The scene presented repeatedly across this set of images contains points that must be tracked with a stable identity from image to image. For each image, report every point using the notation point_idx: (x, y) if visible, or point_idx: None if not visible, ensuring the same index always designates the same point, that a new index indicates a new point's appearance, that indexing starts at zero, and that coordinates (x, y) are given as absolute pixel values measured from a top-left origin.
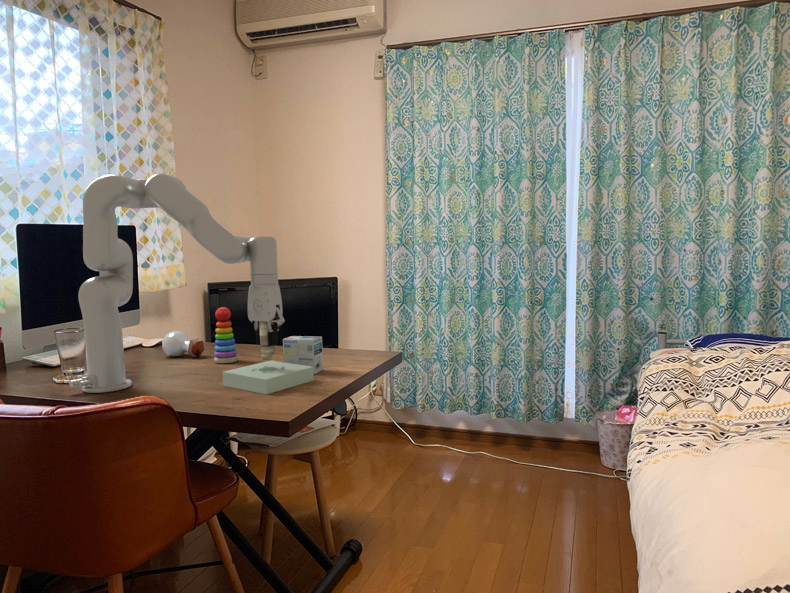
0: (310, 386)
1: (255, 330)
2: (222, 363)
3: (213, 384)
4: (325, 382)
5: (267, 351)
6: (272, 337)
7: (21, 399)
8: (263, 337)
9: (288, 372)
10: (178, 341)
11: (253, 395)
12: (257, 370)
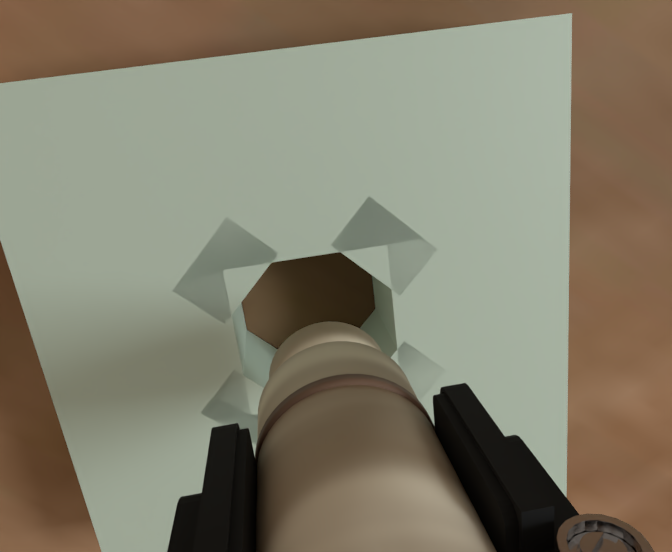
0: (4, 422)
1: (588, 514)
2: None
3: (611, 4)
4: (32, 532)
5: (271, 384)
6: (177, 546)
7: None
8: (320, 466)
9: (73, 374)
10: None
11: (61, 7)
12: (351, 249)
